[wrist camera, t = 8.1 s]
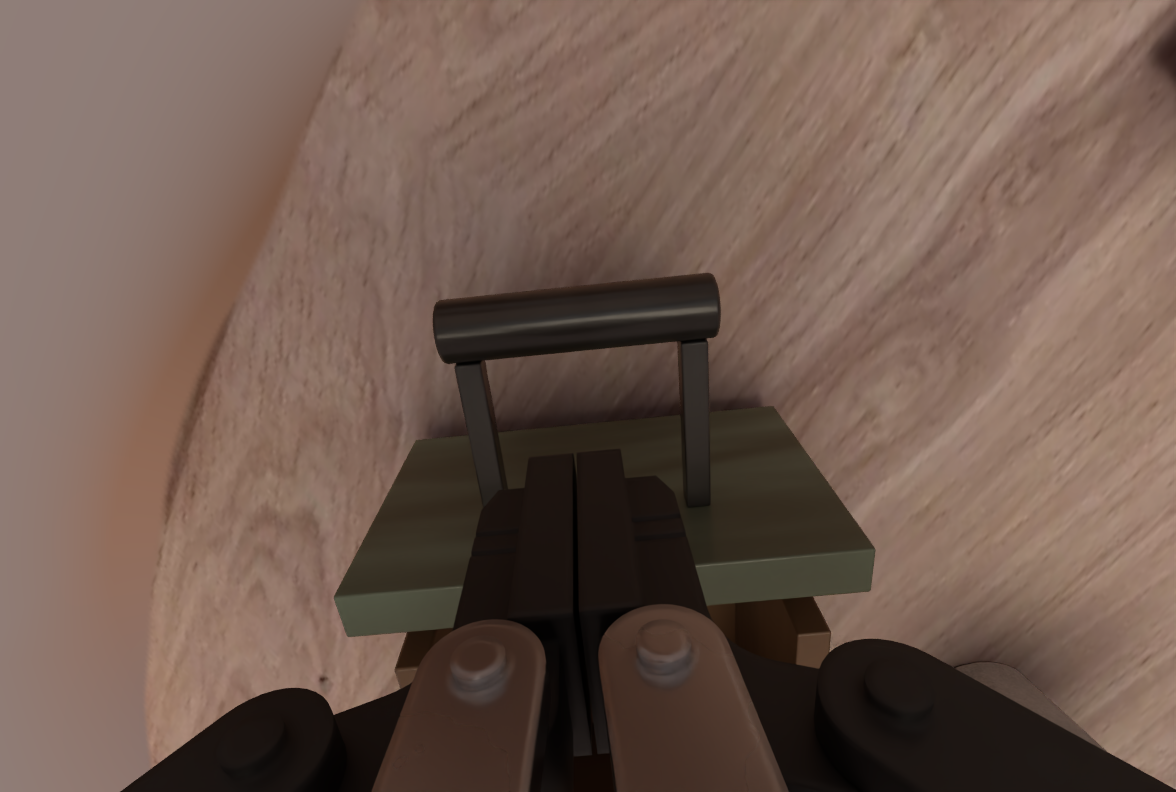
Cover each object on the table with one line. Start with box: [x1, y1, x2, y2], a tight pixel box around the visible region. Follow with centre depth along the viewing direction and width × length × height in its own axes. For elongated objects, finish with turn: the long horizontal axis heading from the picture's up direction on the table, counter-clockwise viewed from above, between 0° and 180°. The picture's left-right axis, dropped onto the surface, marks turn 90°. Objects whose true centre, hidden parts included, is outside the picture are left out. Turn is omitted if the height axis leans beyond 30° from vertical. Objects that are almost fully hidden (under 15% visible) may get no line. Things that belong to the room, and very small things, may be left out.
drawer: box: [334, 273, 875, 792], centre depth 18 cm, size 19×12×7 cm, turn 6°
